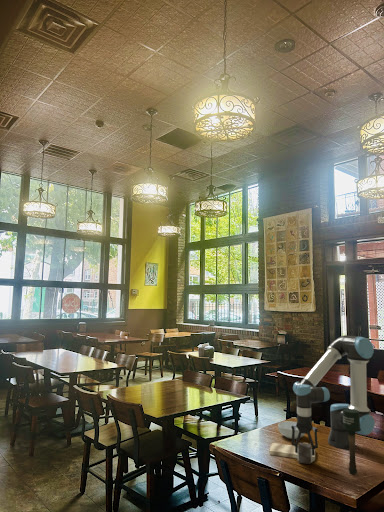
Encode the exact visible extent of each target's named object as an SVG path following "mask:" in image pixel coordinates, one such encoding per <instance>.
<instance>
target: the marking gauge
mask: <svg viewBox="0 0 384 512" xmlns="http://www.w3.org/2000/svg"><path fill="white" fill-rule="evenodd" d="M298 446H299V461H298V463H299V464H304V465H305V464H307V465H311V463H312V462H311V448H312V447H311V444H310V443H308V442H299V443H298Z"/></svg>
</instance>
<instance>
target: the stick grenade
mask: <svg viewBox="0 0 384 512" xmlns="http://www.w3.org/2000/svg"><path fill="white" fill-rule="evenodd" d="M342 428H343V429H344V430H347V431H348V438H349V449H348V451H349V463H348V472H349V474H351V475H357V473H358V469H357V462H356V432H359V431H361V428H360V415H359V411H358V410H355V409H343V427H342Z"/></svg>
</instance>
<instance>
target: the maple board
mask: <svg viewBox="0 0 384 512" xmlns="http://www.w3.org/2000/svg"><path fill="white" fill-rule="evenodd" d="M314 452H315V453H316V449H314ZM269 455H270V456H277V457H286V458H291V459H296V460H298V457H297V453H295V446H294V445H292V444H284V443H283V444H282V443H279V442H278V443H276V442H272V443H271V444H270V447H269ZM315 461H316V454H315V455H312V462H315Z"/></svg>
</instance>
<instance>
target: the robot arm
mask: <svg viewBox="0 0 384 512" xmlns="http://www.w3.org/2000/svg"><path fill="white" fill-rule="evenodd" d="M374 352H375V351H374V344H373V342H372V341H370V339H368V338H367V337H363V336H356V335H348V334H345V335H342V336H339V337H337V338H336V339H335V340H333V341H332V342H331V343H330V344H329V346H327V348H326V351H325V353H324V354H323V355H322V356H321V357H320V359H318V361H317V362H316V363H315V364H314V366H312V368H311V369H310V370H309V371H308V372H307V374H306V375H305V376H304V378H303V379H302V380H301V381H296V382H294V383H293V386H292V390H293V392H294V394H296V414H297V415H296V422H297V424H296V425H292V426H291V428H292V439H291V445H293V446H295V453H297V457H298V459H297V461H298V462H299V443H300V439H301V437H300V436H301V433H305V434H306V435H307V437H308V440H309V444H311V463H313V461H312V455H315V456H316V451H315V452H314V449H315V450H316V449H319V444H318V442H319V441H318V432H319V431H318V427H314V426H313V422H312V420H313V419H312V404H315V403H324V402H327V401H329V400H330V397H331V395H330V393H331V392H330V391H329V389H328V388H327V387H325V386H320V387H317V385H318V384H319V382H320V381H321V380H322V379H323V377H324V376H325V375H326V374H327V373H328V371H329V370H330V369H331V368H332V367H333V365H335V363H336V362H337V361H338V360H341V359H342V357H344V356H347V360H348V362H349V364H350V367H349V368H350V370H349V371H350V375H349V376H350V377H349V378H350V384H349V385H350V404H349V403H333V404H331V405H330V411H329V415H330V431H329V434H328V438H327V443H328V444H329V445H330V446H332V447H335V448H339V449H345V450H346V449H347V450H349V438H348V431H347V430H344V429H343V428H342V427H343V409H355V410H358V411H359V415H360V428H361V431H359V432H355V434H358V435H362V436H368V435H370V434H371V433H372V432H373V430H374V428H375V425H376V423H375V422H376V421H375V419H374V417H373V416H372V415H371V413H370V408H369V407H368V401H367V399H368V397H367V396H368V394H367V393H368V392H367V389H368V388H367V385H368V384H367V364H368V363H369V362H370V359H371V358H372V357H373V354H374ZM296 427H297V428H298V430H299V434H298V437H297V439H294V437H295V429H296ZM311 431H313V432H314V433H313V435H314V442H313V438H312V435H311ZM305 434H304V435H305ZM295 440H296V441H295ZM314 443H315V444H314Z"/></svg>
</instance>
